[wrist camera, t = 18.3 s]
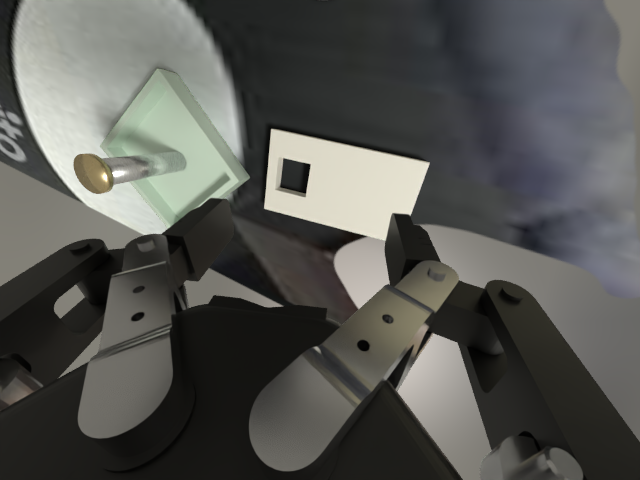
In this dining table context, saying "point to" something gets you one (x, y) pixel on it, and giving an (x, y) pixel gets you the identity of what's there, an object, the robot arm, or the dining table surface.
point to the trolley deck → (343, 183)
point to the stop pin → (124, 168)
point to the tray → (175, 148)
